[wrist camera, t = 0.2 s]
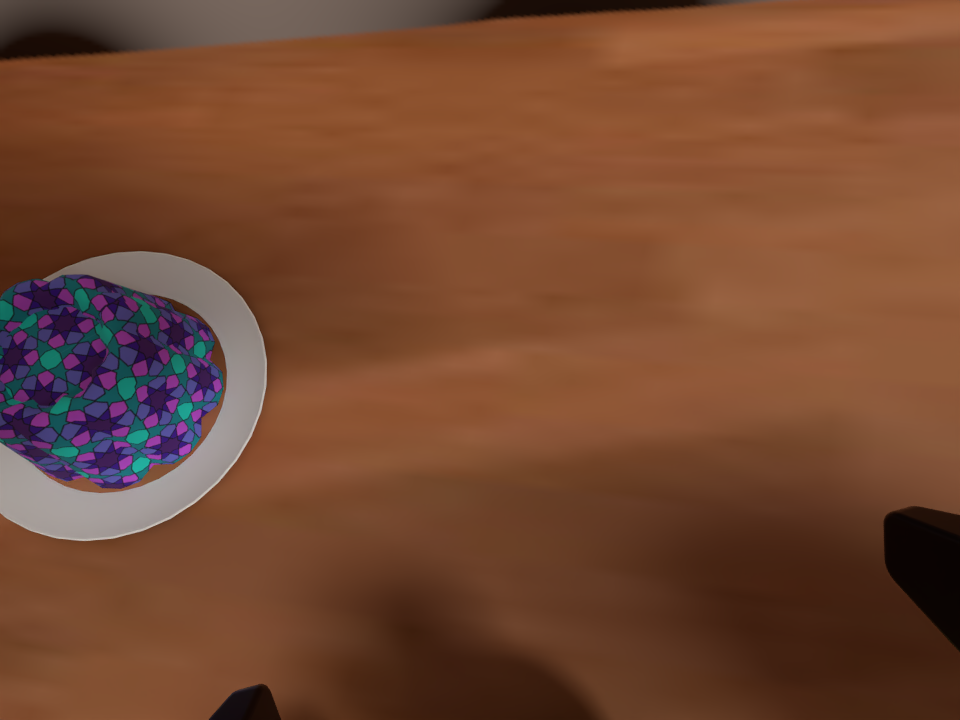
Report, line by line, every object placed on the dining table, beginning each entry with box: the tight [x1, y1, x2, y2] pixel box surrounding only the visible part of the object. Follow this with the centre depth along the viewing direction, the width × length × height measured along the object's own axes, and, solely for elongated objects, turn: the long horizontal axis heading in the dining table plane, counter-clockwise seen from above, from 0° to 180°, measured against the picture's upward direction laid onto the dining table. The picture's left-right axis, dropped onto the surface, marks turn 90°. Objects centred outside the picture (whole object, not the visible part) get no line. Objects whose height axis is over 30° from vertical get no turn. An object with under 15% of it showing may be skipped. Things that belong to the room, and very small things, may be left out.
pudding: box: [0, 251, 267, 541], centre depth 22 cm, size 12×12×5 cm
